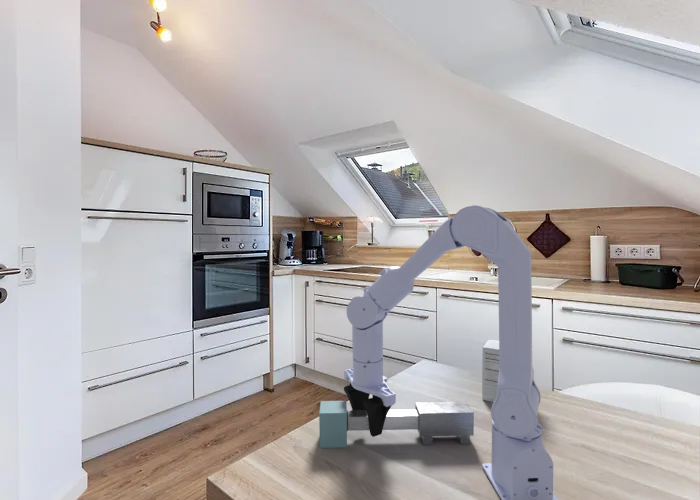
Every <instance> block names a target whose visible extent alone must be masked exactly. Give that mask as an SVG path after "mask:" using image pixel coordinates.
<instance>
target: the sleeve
mask: <svg viewBox="0 0 700 500" xmlns="http://www.w3.org/2000/svg"><path fill="white" fill-rule="evenodd" d="M414 405H415V406H414V407H415V409H417V410H418V413H419V429H416V430H417V432H418V436H419V437H420V439H421V442H422V444H423V446H429V445H430V446H431V445H432V446H433V437H457V439H458V440H459V443H460V445H470V444H471V443H470V442H471V436H472V437H473V436H475V435H474V431H475V429H474V427H475V425H474V424H475V423H474V422H475V421H474V420H475V413H474V410H473V409H472V408H471V407H470V405H469V404H468V402H467V401H436V402H434V401H433V402H432V401H431V402H430V401H429V402H426V401H425V402H424V401H423V402H415V404H414Z"/></svg>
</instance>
